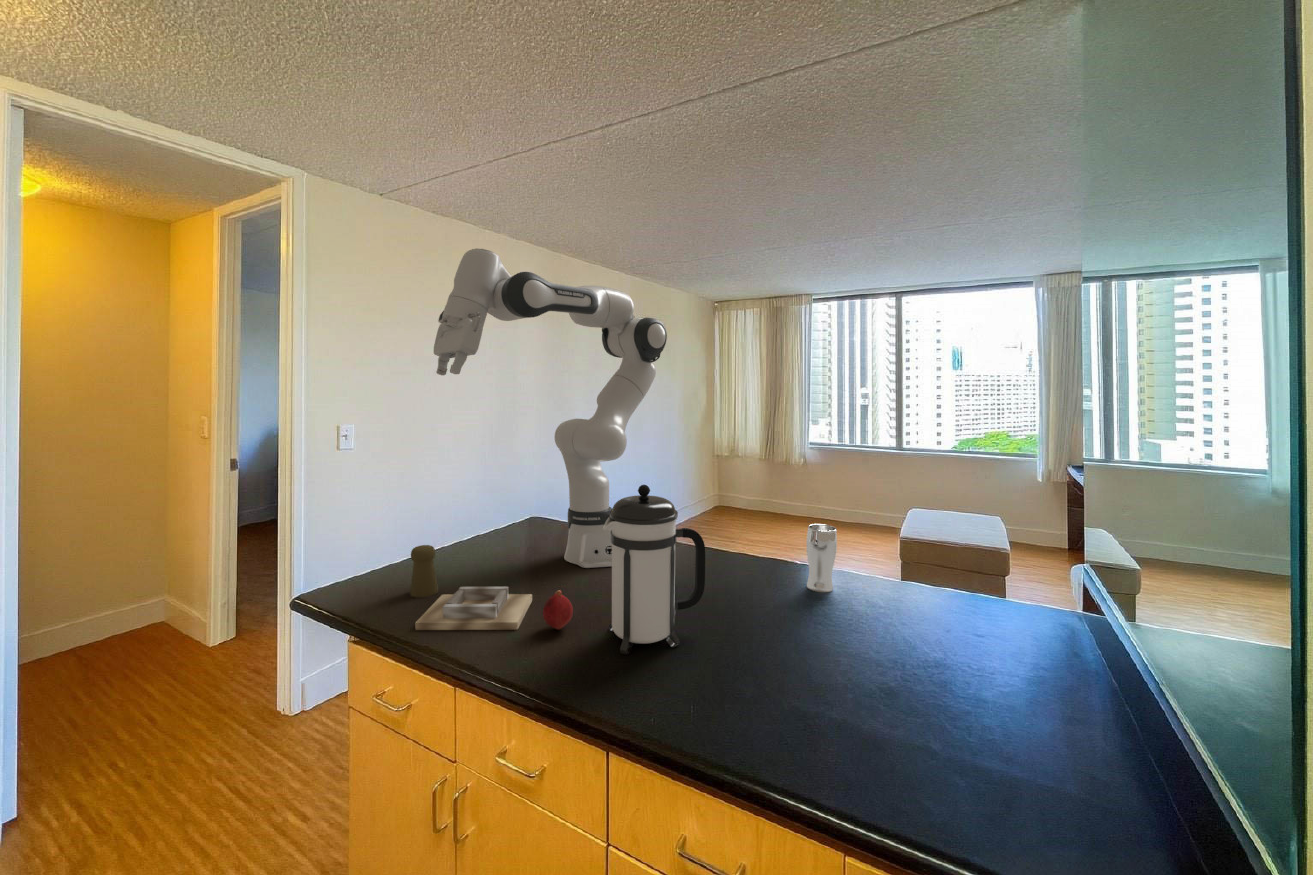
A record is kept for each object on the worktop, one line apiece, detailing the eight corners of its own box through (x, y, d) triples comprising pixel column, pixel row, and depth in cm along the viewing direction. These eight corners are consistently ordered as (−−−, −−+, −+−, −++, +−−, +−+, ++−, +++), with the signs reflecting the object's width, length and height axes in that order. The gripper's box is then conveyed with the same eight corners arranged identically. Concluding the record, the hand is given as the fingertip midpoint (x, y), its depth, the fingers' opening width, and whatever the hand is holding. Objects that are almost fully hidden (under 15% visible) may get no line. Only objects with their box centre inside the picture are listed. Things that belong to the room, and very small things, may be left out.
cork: (443, 587, 124) (441, 542, 123) (429, 598, 118) (428, 550, 117) (419, 586, 124) (417, 541, 123) (404, 596, 118) (402, 549, 117)
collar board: (532, 600, 117) (531, 583, 117) (517, 629, 103) (517, 610, 103) (442, 600, 116) (441, 583, 116) (415, 630, 102) (414, 610, 102)
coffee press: (660, 668, 89) (662, 497, 86) (588, 643, 98) (587, 486, 95) (705, 629, 104) (708, 481, 101) (639, 610, 112) (640, 473, 109)
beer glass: (803, 590, 124) (805, 529, 123) (806, 580, 131) (808, 522, 129) (833, 595, 122) (836, 532, 120) (835, 584, 128) (838, 525, 127)
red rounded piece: (547, 638, 99) (547, 598, 99) (539, 626, 104) (539, 588, 104) (576, 632, 102) (576, 593, 101) (567, 620, 107) (567, 583, 106)
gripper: (495, 317, 112) (477, 377, 111) (462, 326, 128) (446, 379, 126) (467, 305, 108) (448, 367, 107) (437, 316, 124) (420, 370, 123)
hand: (447, 374), depth 117 cm, fingers open, 8 cm apart
